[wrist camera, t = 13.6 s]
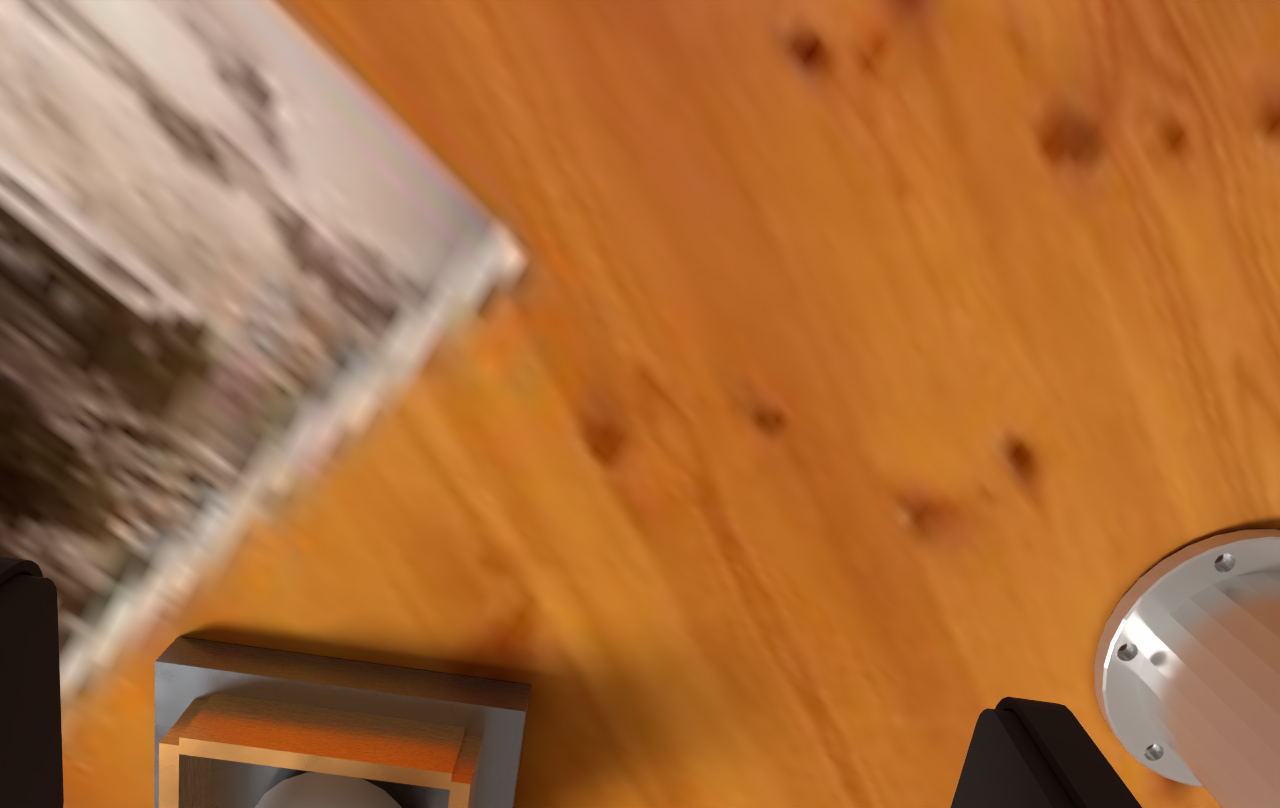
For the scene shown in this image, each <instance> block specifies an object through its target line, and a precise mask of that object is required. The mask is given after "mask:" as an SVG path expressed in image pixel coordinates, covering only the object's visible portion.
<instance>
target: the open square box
mask: <svg viewBox="0 0 1280 808" xmlns="http://www.w3.org/2000/svg"><path fill="white" fill-rule="evenodd" d="M530 690H531V685H527V684H520V683H513V682H505V681H498V680H491V679H484V678H476V677H469V676H462V675H454V674H447V673H440V672H432V671H425V670H418V669H411V668H403V667H396V666H389V665H381V664H374V663H367V662H359V661H352V660H345V659H337V658H330V657H323V656H316V655H308V654H301V653H294V652H286V651H279V650H272V649H264V648H257V647H250V646H243V645H235V644H228V643H221V642H213V641H206V640H199V639H191V638H184V637H177V638H176V639H175V640H174V642H173V643H172V644H171V645H170V646H169V647H168V648H167V649H166V650H165V651H164V652H163V653H162V655H161V656H160V657H159V658H158V659H157V660H156V661H155V808H255V807H256V806H257V804H258V803H259V801H260V800H261V798H262V796H263V795H264V794H265V793H266V792H268V791H269V790H270V789H272V788H273V787H275V786H276V785H277V784H279V783H280V782H281V781H283V780H286V779H289V778H292V777H295V776H298V775H301V774H304V773H307V772H319V773H326V774H334V775H342V776H349V777H357V778H362V779H364V780H366V781H368V782H370V783H372V784H373V785H375V786H377V787H379V788H381V789H383V790H385V791H386V792H387V793H388V794H389V795H390V796H391V797H392V798H393V799H394V800H395V801H396V802H397V803H398V804H399V805H400V806H401V807H402V808H514V805H515V797H516V790H517V783H518V776H519V769H520V761H521V754H522V747H523V740H524V733H525V726H526V718H527V711H528V704H529V697H530Z"/></svg>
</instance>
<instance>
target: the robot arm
mask: <svg viewBox="0 0 1280 808" xmlns="http://www.w3.org/2000/svg"><path fill="white" fill-rule="evenodd" d="M1094 684H1095V693H1096V697H1097V701H1098V704H1099V708H1100V711H1101V714H1102V715H1103V717H1104V719H1105V721H1106V722H1107V724H1108V726H1109V728H1110V730H1111V731H1112V733H1113V734H1114V735H1115V736H1116V738H1117V739H1118V740H1119V741H1120V742H1121V744H1122V745H1123V746H1124V748H1125V749H1126V750H1127V751H1128V752H1129V753H1130V754H1131V755H1132V756H1133V757H1134V758H1135V759H1136V760H1137V761H1138V762H1140V763H1141V764H1142V765H1144V766H1145V767H1147V768H1149V769H1150V770H1152V771H1154V772H1156V773H1158V774H1160V775H1161V776H1163V777H1165V778H1168V779H1171V780H1174V781H1177V782H1180V783H1184V784H1187V785H1192V786H1199V787H1204V788H1205V789H1206V790H1207V791H1208V792H1209V793H1210V795H1211V796H1212V797H1213V798H1214V799H1215V800H1216V802H1217V803H1218V804H1219V805H1220V806H1221V807H1222V808H1280V530H1276V529H1254V530H1241V531H1236V532H1231V533H1226V534H1221V535H1216V536H1213V537H1210V538H1208V539H1205V540H1202V541H1200V542H1197V543H1194V544H1192V545H1189V546H1187V547H1185V548H1183V549H1182V550H1180V551H1178V552H1176V553H1175V554H1173V555H1171V556H1169V557H1167V558H1166V559H1164V560H1162V561H1161V562H1160V563H1158V564H1157V565H1156V566H1155V567H1153V568H1152V569H1151V570H1150V571H1148V572H1147V573H1146V574H1145V575H1143V576H1142V577H1141V578H1140V579H1139V580H1138V581H1137V582H1136V583H1135V584H1134V585H1133V586H1132V588H1131V589H1130V590H1129V591H1128V592H1127V593H1126V594H1125V595H1124V596H1123V598H1122V599H1121V600H1120V602H1119V603H1118V605H1117V607H1116V608H1115V610H1114V611H1113V613H1112V614H1111V616H1110V618H1109V619H1108V621H1107V623H1106V626H1105V628H1104V631H1103V633H1102V636H1101V638H1100V641H1099V643H1098V647H1097V653H1096V659H1095V664H1094ZM63 802H64V799H63V767H62V735H61V704H60V672H59V640H58V608H57V591H56V586H55V585H54V583H53V581H52V580H50V579H49V578H43V575H42V572H41V570H40V568H39V566H38V565H37V564H36V563H34V562H33V561H30V560H23V559H16V558H9V557H2V556H0V808H63ZM951 808H1142V807H1141V805H1140V804H1139V803H1138V801H1137V800H1136V799H1135V797H1134V796H1133V795H1132V793H1131V792H1130V791H1129V789H1128V788H1127V787H1126V785H1125V784H1124V782H1123V781H1122V780H1121V778H1120V777H1119V776H1118V774H1117V773H1116V772H1115V770H1114V769H1113V768H1112V766H1111V765H1110V764H1109V762H1108V761H1107V759H1106V758H1105V757H1104V755H1103V754H1102V753H1101V751H1100V750H1099V749H1098V747H1097V746H1096V745H1095V743H1094V742H1093V741H1092V739H1091V738H1090V736H1089V735H1088V734H1087V732H1086V731H1085V730H1084V728H1083V727H1082V726H1081V724H1080V723H1079V722H1078V720H1077V719H1076V718H1075V716H1074V715H1073V713H1072V712H1071V711H1070V710H1069V709H1068V708H1067V707H1066V706H1064V705H1061V704H1056V703H1049V702H1042V701H1035V700H1028V699H1021V698H1013V697H1006V698H1003V699H1002V700H1001V701H1000V702H999V703H998V704H997V706H996V708H995V709H985V710H983V712H982V713H981V714H980V716H979V718H978V721H977V723H976V727H975V730H974V733H973V736H972V740H971V743H970V746H969V750H968V753H967V756H966V759H965V763H964V766H963V769H962V772H961V776H960V779H959V782H958V786H957V789H956V792H955V795H954V799H953V802H952V805H951Z"/></svg>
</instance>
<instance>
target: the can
mask: <svg viewBox="0 0 1280 808" xmlns="http://www.w3.org/2000/svg"><path fill="white" fill-rule="evenodd" d="M255 808H402V807H401V806H400V805H399V804H398V803H397V802H396V801H395V800H394V799H393V798H392V797H391V796H390V795H389V794H388V793H387V792H386V791H385V790H383V789H381V788H379V787H377V786H375V785H373V784H372V783H370V782H368V781H366V780H364V779H362V778H357V777H349V776H342V775H334V774H326V773H319V772H307V773H304V774H301V775H298V776H295V777H292V778H289V779H286V780H283V781H281V782H280V783H279V784H277V785H276V786H275V787H273V788H272V789H270V790H269V791H268V792H266V793H265V794H264V795H263V796H262V798H261V800H260V801H259V803H258V804H257V806H256V807H255Z"/></svg>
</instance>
